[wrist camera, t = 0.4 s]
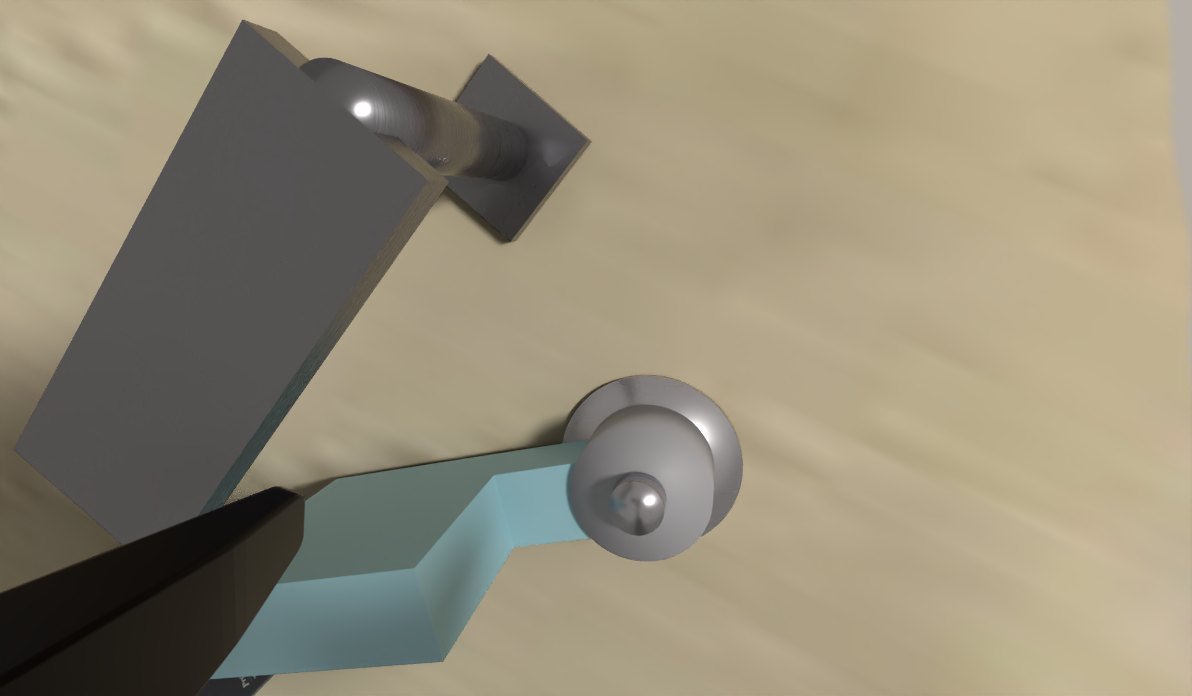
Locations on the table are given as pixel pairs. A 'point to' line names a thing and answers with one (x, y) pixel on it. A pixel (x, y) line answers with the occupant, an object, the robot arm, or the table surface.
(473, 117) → the keeper
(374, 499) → the link
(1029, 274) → the table surface
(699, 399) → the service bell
